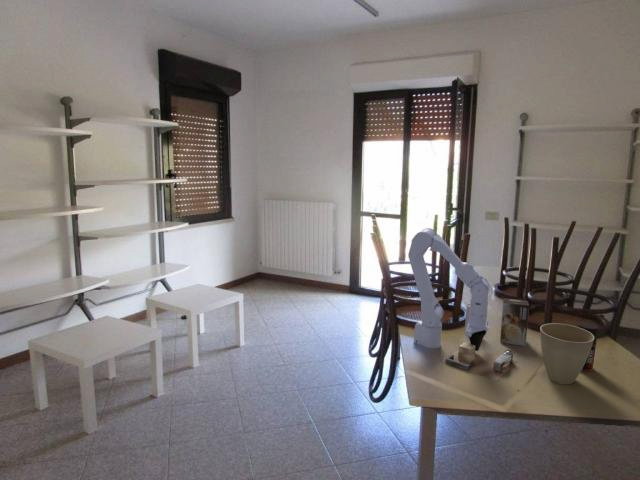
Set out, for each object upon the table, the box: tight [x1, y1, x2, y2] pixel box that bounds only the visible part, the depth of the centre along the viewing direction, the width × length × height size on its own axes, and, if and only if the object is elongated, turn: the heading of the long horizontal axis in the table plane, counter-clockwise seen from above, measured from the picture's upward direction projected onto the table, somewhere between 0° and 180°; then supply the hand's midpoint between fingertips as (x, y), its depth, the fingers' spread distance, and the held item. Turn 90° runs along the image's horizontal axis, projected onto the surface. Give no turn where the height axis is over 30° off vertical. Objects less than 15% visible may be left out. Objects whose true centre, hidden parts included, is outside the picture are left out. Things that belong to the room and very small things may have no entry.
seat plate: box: [441, 348, 518, 382], centre depth 149 cm, size 19×18×4 cm
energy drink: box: [464, 303, 470, 331], centre depth 174 cm, size 5×5×12 cm
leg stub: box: [458, 341, 475, 363], centre depth 150 cm, size 4×4×5 cm
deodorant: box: [576, 321, 599, 372], centre depth 147 cm, size 6×6×15 cm
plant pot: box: [539, 322, 594, 385], centre depth 139 cm, size 15×15×16 cm
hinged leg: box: [493, 349, 514, 372], centre depth 146 cm, size 11×3×3 cm, turn 137°
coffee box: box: [499, 297, 530, 347], centre depth 167 cm, size 9×6×16 cm
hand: (475, 349), depth 156 cm, fingers closed
